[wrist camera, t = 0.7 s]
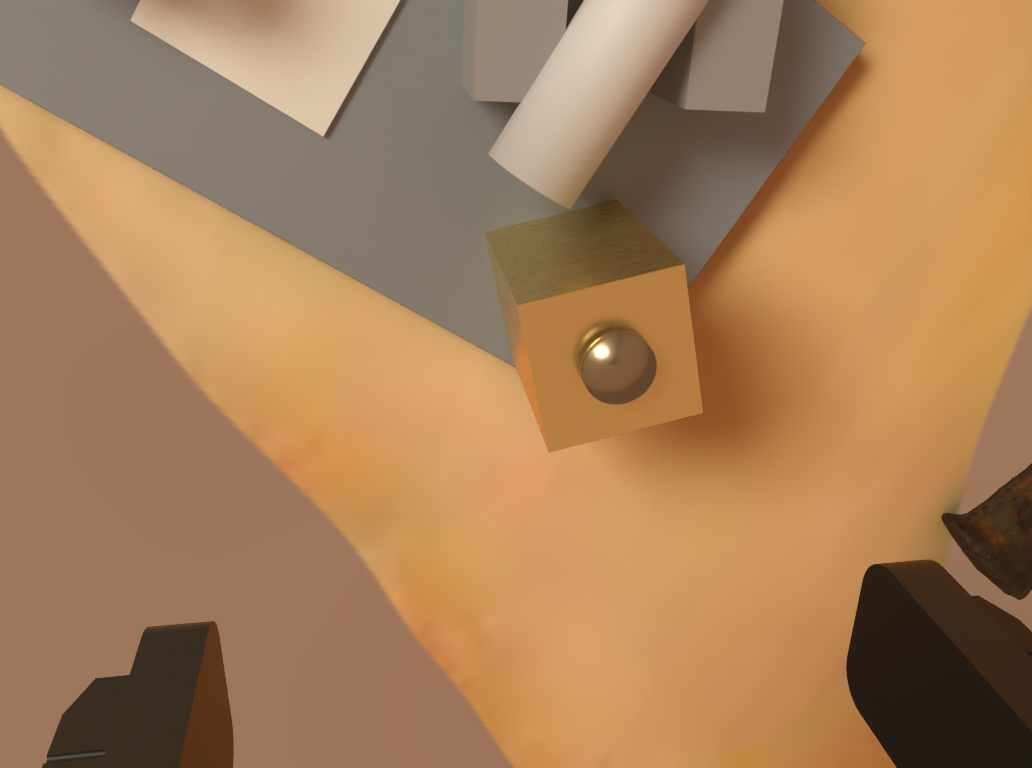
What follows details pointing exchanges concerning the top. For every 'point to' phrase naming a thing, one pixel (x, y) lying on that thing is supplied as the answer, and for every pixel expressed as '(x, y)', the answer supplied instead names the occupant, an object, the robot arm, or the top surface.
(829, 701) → the top surface
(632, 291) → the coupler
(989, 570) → the hand tool
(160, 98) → the shaft base
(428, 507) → the top surface
